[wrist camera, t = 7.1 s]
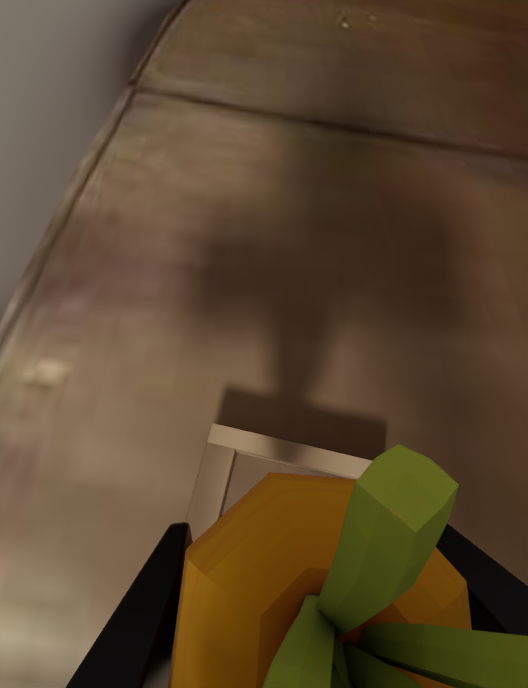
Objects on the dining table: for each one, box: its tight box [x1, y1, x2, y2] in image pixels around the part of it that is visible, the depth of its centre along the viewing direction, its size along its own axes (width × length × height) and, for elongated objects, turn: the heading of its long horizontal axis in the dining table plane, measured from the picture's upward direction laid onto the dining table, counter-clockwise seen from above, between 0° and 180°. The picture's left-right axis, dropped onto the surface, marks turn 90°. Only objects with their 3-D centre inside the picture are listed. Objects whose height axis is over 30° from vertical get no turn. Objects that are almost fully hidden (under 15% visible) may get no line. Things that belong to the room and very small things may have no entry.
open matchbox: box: [186, 423, 373, 542], centre depth 18 cm, size 10×18×2 cm, turn 167°
